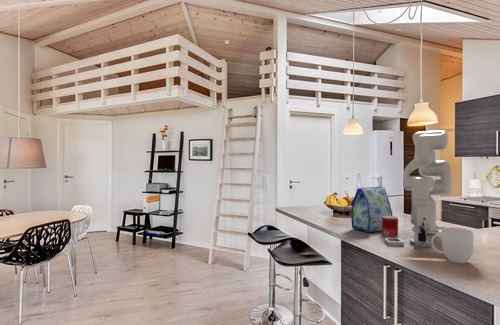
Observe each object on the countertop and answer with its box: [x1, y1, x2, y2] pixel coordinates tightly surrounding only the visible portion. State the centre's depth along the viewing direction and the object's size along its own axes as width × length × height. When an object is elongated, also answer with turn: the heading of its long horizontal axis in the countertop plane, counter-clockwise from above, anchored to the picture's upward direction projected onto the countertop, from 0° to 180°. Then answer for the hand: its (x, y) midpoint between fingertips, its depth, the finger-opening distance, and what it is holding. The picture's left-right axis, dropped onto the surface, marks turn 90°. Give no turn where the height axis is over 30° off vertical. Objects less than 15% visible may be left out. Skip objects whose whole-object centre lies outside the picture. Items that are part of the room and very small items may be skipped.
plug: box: [411, 225, 426, 243], centre depth 146 cm, size 5×4×9 cm
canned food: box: [381, 215, 399, 237], centre depth 167 cm, size 8×8×11 cm
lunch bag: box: [350, 186, 393, 233], centre depth 184 cm, size 22×17×26 cm
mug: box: [430, 226, 474, 264], centre depth 127 cm, size 15×11×13 cm
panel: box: [379, 237, 435, 251], centre depth 147 cm, size 22×14×3 cm, turn 81°
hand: (420, 239), depth 146 cm, fingers closed on plug, 4 cm apart
